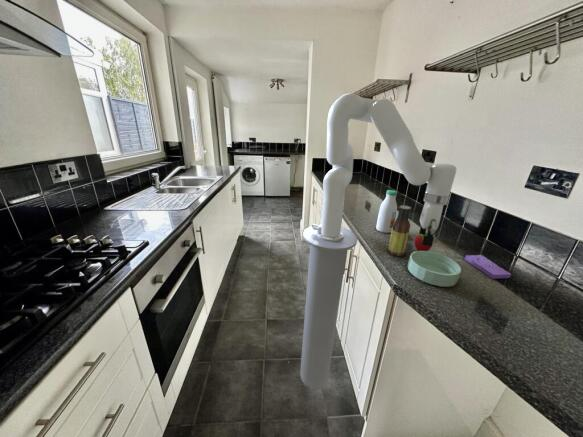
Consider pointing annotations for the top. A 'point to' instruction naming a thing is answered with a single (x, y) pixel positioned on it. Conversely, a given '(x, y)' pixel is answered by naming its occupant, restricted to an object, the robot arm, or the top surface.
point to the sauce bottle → (400, 232)
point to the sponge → (487, 266)
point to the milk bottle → (387, 212)
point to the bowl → (434, 268)
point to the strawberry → (420, 243)
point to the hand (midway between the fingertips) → (424, 239)
